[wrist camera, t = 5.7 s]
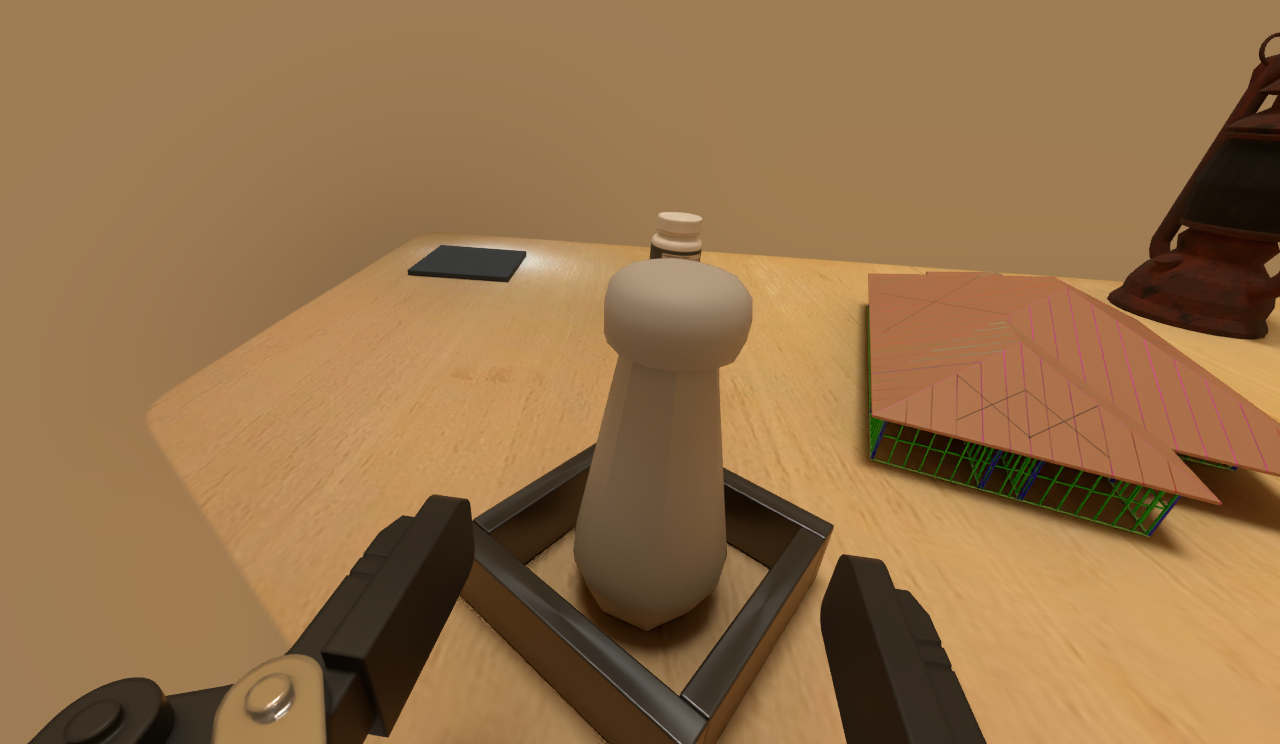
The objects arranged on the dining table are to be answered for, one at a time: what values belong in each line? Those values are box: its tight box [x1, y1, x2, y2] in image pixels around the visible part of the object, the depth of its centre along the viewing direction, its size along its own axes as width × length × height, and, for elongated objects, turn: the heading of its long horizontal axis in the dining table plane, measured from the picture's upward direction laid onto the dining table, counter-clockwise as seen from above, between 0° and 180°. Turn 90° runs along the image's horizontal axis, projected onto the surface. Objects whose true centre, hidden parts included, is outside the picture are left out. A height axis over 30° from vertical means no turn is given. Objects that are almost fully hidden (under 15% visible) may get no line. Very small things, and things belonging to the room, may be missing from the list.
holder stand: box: [460, 443, 834, 744], centre depth 19 cm, size 10×10×3 cm
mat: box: [408, 245, 526, 282], centre depth 55 cm, size 10×10×1 cm
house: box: [868, 272, 1280, 537], centre depth 37 cm, size 23×33×8 cm
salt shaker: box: [573, 258, 752, 631], centre depth 17 cm, size 6×6×13 cm
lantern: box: [1108, 33, 1280, 339], centre depth 52 cm, size 17×14×30 cm
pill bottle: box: [650, 212, 702, 262], centre depth 47 cm, size 5×5×8 cm
